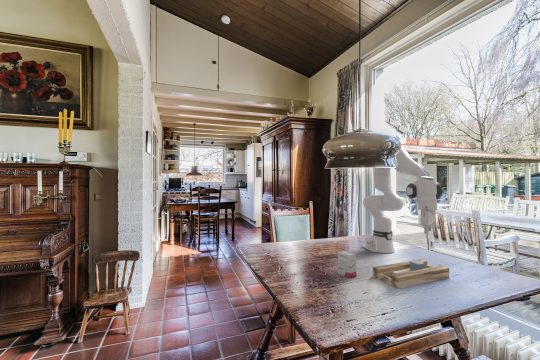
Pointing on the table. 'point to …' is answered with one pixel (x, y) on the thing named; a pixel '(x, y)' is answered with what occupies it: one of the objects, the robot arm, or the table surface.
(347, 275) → the ink box
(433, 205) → the robot arm
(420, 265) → the slate block
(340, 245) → the table surface
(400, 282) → the trap lane
